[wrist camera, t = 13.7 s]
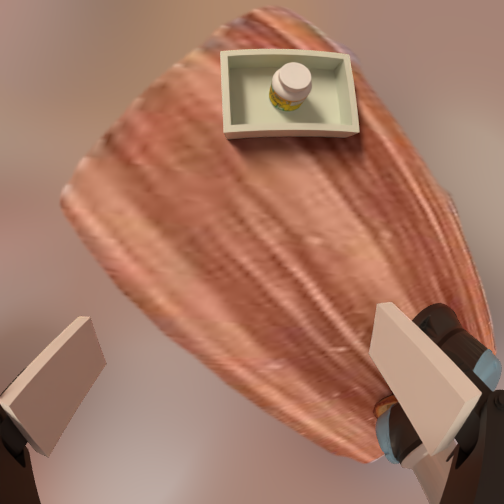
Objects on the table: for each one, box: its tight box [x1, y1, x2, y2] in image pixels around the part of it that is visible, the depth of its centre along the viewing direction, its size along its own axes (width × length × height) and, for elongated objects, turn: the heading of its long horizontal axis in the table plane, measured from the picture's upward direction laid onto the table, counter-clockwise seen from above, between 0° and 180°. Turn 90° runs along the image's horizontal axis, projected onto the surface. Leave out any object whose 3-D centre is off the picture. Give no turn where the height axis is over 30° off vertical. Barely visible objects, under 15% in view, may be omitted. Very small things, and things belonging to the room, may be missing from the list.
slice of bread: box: [373, 395, 398, 418], centre depth 54 cm, size 18×18×4 cm
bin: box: [220, 49, 359, 139], centre depth 35 cm, size 13×19×6 cm
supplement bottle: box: [269, 62, 312, 112], centre depth 32 cm, size 5×5×10 cm
